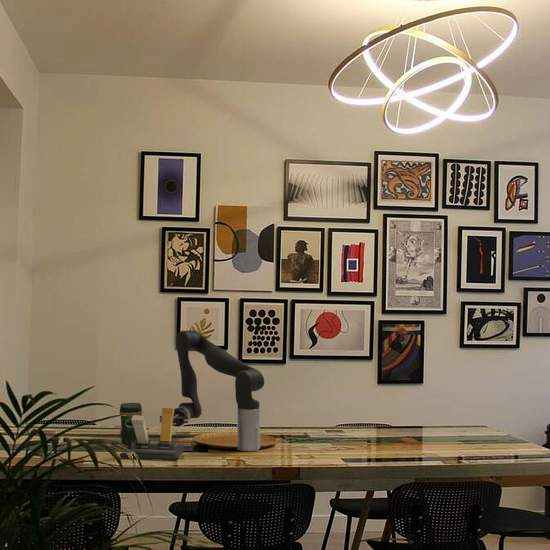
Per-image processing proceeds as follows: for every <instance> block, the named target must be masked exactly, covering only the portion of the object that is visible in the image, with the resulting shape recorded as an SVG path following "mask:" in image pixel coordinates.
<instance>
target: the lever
mask: <svg viewBox="0 0 550 550" xmlns="http://www.w3.org/2000/svg"><path fill="white" fill-rule="evenodd" d="M131 421H132V424H133V426H134V430H135V434H136V438H137V442H138V446H148V443H149V442H151V440H149V435H148V431H147V426H146V423H145V416H144V415H141V416H140V415H133V417H132V419H131Z"/></svg>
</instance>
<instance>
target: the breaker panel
mask: <svg viewBox="0 0 550 550" xmlns="http://www.w3.org/2000/svg"><path fill="white" fill-rule="evenodd" d="M159 442H160V440H150V442H149V443H148V446H138V442H137V440H135V441H133V442H131V447H130V448H129V449H144V450H169V451H176V454H175V455H178V456H179V457H180V456H181V455H182V454H183V453H184V449H185V448H184V447H185V446H184V444H179V442H178V441H171V443H170V444H169V447H159Z"/></svg>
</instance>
